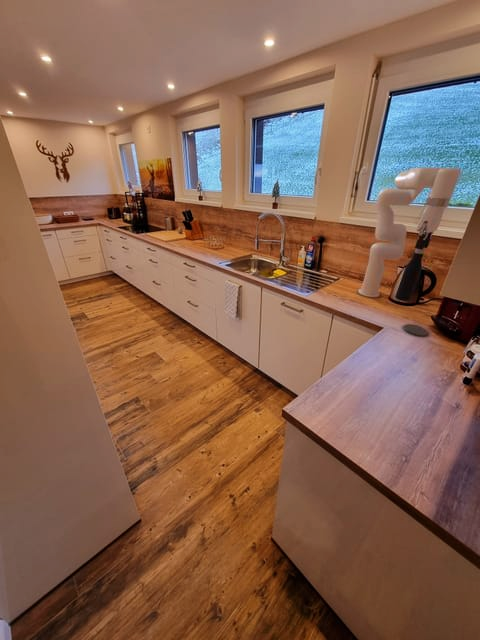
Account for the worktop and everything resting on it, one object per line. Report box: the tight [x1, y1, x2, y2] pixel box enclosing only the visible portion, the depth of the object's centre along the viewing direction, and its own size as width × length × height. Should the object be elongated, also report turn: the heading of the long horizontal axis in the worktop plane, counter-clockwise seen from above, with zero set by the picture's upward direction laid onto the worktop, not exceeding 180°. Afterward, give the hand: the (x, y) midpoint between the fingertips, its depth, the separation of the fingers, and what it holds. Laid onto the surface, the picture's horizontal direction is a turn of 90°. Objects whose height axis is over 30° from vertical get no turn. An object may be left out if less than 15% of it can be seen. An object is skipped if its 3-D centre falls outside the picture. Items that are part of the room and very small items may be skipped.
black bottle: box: [394, 235, 430, 302], centre depth 121 cm, size 6×6×30 cm
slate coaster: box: [403, 323, 429, 337], centre depth 127 cm, size 10×10×1 cm
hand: (421, 247), depth 116 cm, fingers closed on black bottle, 3 cm apart
